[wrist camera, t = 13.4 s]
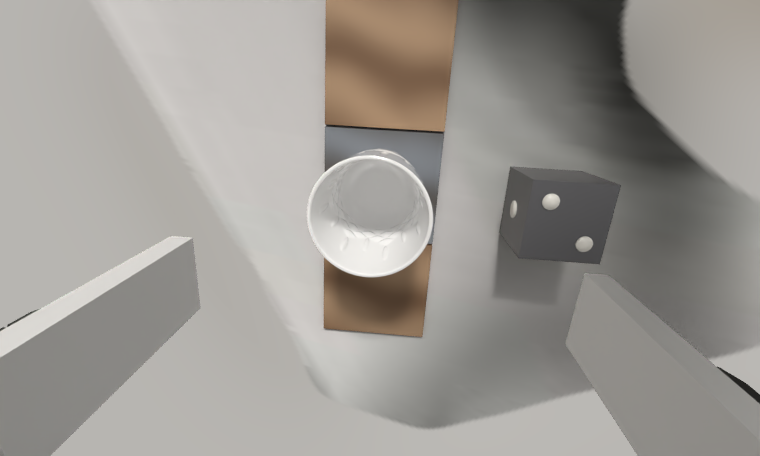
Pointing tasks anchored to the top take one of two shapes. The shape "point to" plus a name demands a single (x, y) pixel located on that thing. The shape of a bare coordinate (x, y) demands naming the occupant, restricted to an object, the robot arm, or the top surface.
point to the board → (386, 134)
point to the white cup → (370, 214)
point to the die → (557, 214)
